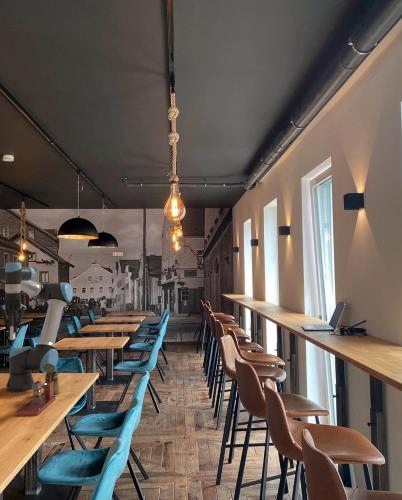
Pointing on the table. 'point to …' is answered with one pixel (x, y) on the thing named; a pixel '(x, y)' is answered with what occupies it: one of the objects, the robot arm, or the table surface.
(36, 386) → the nutcracker lever
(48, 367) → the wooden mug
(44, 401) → the nutcracker base
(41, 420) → the table surface
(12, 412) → the table surface
